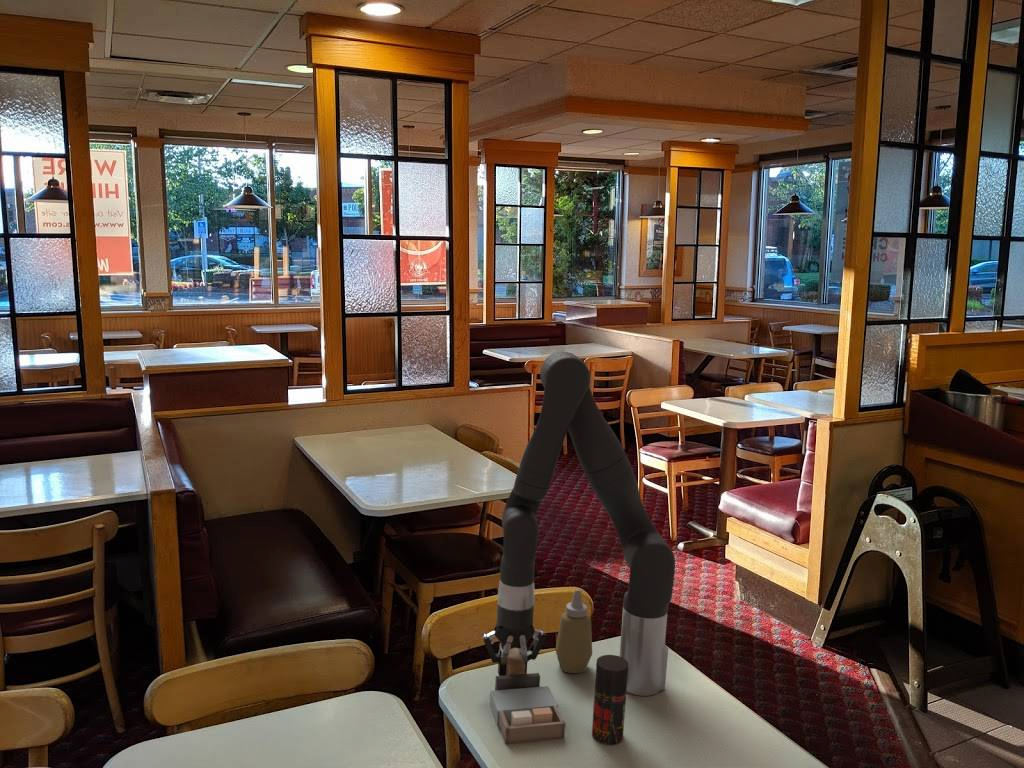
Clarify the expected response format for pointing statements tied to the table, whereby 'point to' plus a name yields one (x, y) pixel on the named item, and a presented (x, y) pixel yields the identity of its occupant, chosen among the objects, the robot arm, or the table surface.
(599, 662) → the deodorant
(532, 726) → the box
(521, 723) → the tile
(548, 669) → the table surface
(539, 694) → the grey flat-topped cover
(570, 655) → the squeeze bottle
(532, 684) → the scraper
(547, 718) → the tile
